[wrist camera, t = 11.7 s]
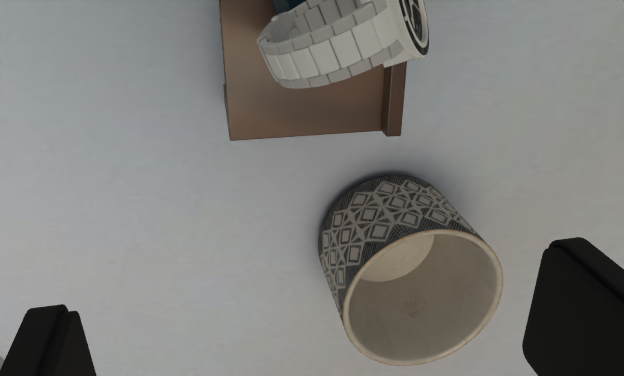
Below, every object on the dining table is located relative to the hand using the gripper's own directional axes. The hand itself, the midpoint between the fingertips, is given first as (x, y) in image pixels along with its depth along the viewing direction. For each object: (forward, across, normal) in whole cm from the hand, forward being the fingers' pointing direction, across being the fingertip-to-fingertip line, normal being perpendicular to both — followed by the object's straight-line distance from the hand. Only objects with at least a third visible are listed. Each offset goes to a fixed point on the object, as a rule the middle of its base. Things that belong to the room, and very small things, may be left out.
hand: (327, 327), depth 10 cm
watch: (+23, -4, -3) cm, 24 cm away
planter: (+31, -12, +18) cm, 38 cm away
